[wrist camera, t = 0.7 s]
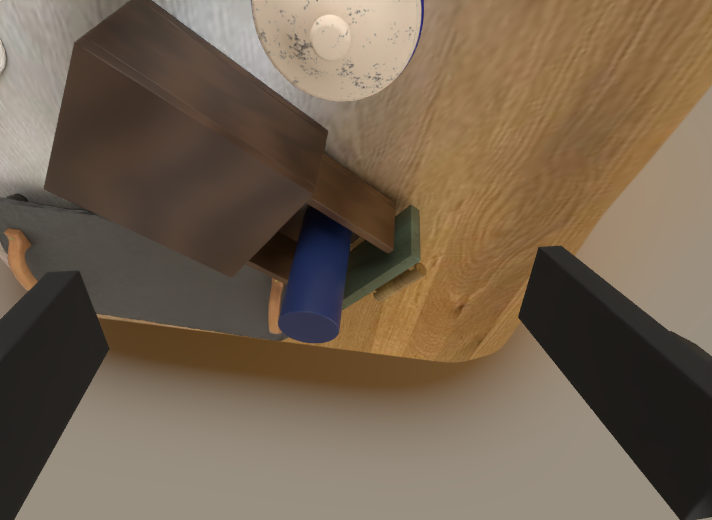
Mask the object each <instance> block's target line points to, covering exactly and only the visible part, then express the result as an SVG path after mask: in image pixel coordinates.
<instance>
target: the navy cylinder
mask: <svg viewBox="0 0 712 520" xmlns="http://www.w3.org/2000/svg"><path fill="white" fill-rule="evenodd" d="M351 235H352V231H351V230H349V229H347V228H346V227H344V226H343V225H341V224H339V223H338V222H336V221H334V220H333V219H331V218H330V217H328V216H326V215H325V214H323V213H322V212H320V211H318V210H317V209H315V208H314V207H312V206H310V207H309V208H308V209H307V210H306V212H305V214H304V218H303V222H302V226H301V230H300V234H299V238H298V242H297V246H296V250H295V254H294V258H293V262H292V266H291V270H290V274H289V278H288V283H287V287H286V291H285V295H284V299H283V303H282V307H281V311H280V315H279V319H278V327H279V329H280V330H281V331H282V332H283V333H284V334H285V335H287V336H288V337H290V338H292V339H295V340H298V341H301V342H306V343H324V342H328V341H331V340H333V339H334V338H336V337H337V335H338V334H339V328H340V320H341V312H342V305H343V297H344V289H345V282H346V274H347V266H348V258H349V251H350V243H351Z"/></svg>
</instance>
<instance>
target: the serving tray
mask: <svg viewBox="0 0 712 520" xmlns="http://www.w3.org/2000/svg"><path fill="white" fill-rule="evenodd" d="M0 242H1V245H2V247H3V249H4V250H5V252H6V253H7V254H8V262H9V266H10V268H11V270H12V272H13V274H14V275H15V277H16V278H17V280H18V281H19V282H20V283H21V284H22V285H23V287H24V288H25V289H26V290H27V291H29V290H30V289H31V288H32V287H33V286H34V285H35V284H36V283H37V282H38V281H39V280H40V279H41V278H42V277H43V276H44V275H45V274H46V273H47V272H57V271H77V270H79V271H80V274H81V276H82V279H83V281H84V284H85V287H86V289H87V292H88V294H89V297H90V300H91V302H92V305H93V307H94V310H95V313H96V314H102V315H110V316H116V317H122V318H129V319H135V320H145V321H149V322H155V323H160V324H168V325H175V326H181V327H188V328H193V329H201V330H208V331H215V332H221V333H227V334H233V335H240V336H248V337H253V338H261V339H268V340H275V341H281V340H284V339H286V338H288V336H287V335H285V334H284V333H283V332H282V331H281V330H280V329H279V327H278V319H279V315H280V311H281V307H282V303H283V299H284V295H285V291H286V287H287V285H286V284H284V283H282V282H280V281H278V280H276V279H274V278H272V277H270V276H268V275H266V274H264V273H262V272H260V271H258V270H256V269H254V268H252V267H250V266H248V265H246V264H245V265H244V266H243V267H242V268H241V269H240V270H239V271H238V272H237V273H236V274H235V275H234V276H233V277H232V278H231V277H229V276H226V275H224V274H222V273H220V272H218V271H216V270H214V269H212V268H210V267H207V266H205V265H203V264H201V263H199V262H197V261H195V260H193V259H191V258H188V257H186V256H184V255H182V254H180V253H178V252H176V251H174V250H172V249H169V248H167V247H165V246H163V245H161V244H159V243H157V242H155V241H153V240H150V239H148V238H146V237H144V236H142V235H140V234H138V233H136V232H134V231H131V230H129V229H127V228H125V227H123V226H121V225H119V224H117V223H115V222H112V221H110V220H108V219H106V218H104V217H102V216H100V215H98V214H95V213H93V212H90V211H87V210H81V209H60V208H57V207H54V206H44V205H41V204H36V203H30V202H28V200H27V199H26V198H25V197H24V196H22V195H20V194H14V195H10V196H7V197H6V198H0Z"/></svg>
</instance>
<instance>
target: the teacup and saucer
mask: <svg viewBox="0 0 712 520" xmlns="http://www.w3.org/2000/svg"><path fill="white" fill-rule="evenodd" d="M5 65H6V54H5V50H4V47H3V44H2V42H1V40H0V73H1V72H2V71H3V70H4V68H5Z"/></svg>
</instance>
